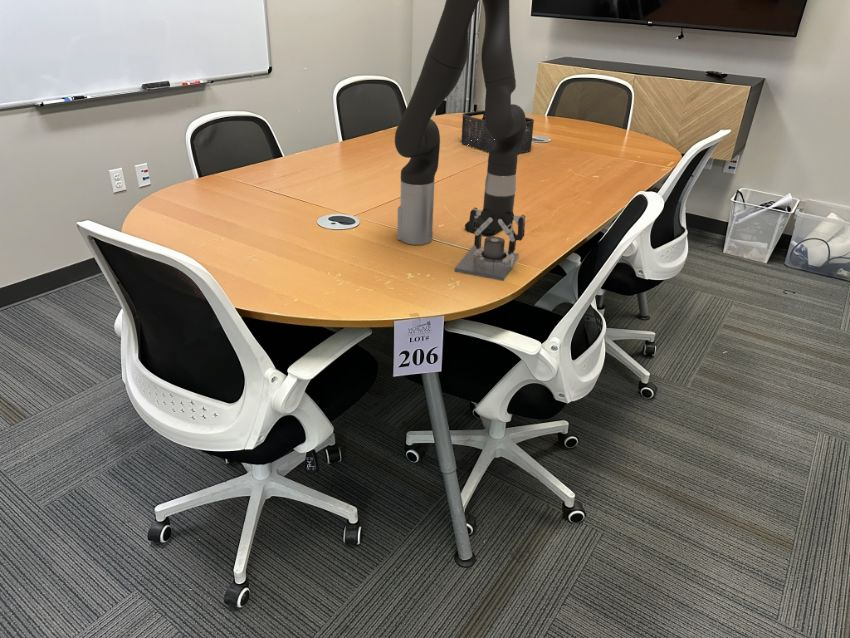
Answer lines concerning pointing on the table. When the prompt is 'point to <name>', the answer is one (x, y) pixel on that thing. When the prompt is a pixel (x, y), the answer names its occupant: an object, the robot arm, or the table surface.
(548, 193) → the table surface
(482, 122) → the storage bin
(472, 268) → the lens mount
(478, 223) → the carrying case or bag
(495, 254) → the dark gray cylinder
